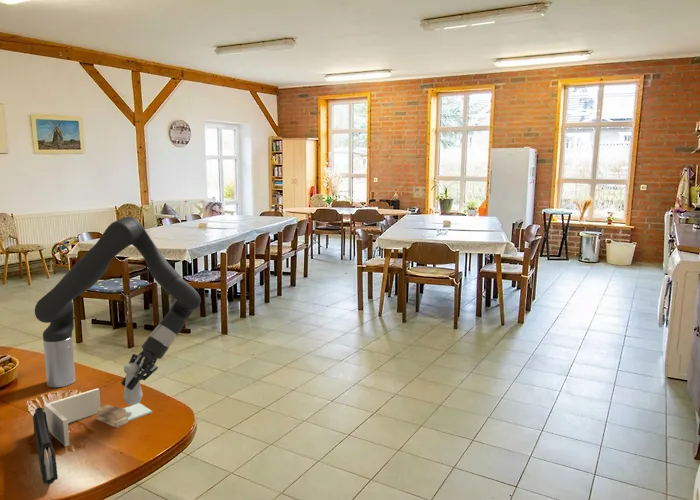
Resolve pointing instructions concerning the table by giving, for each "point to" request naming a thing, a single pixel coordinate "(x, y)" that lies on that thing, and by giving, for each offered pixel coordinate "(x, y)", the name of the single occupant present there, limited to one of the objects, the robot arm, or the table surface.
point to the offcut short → (111, 412)
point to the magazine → (44, 447)
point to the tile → (136, 411)
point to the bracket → (70, 412)
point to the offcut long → (113, 421)
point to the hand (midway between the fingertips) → (126, 386)
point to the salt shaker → (135, 394)
